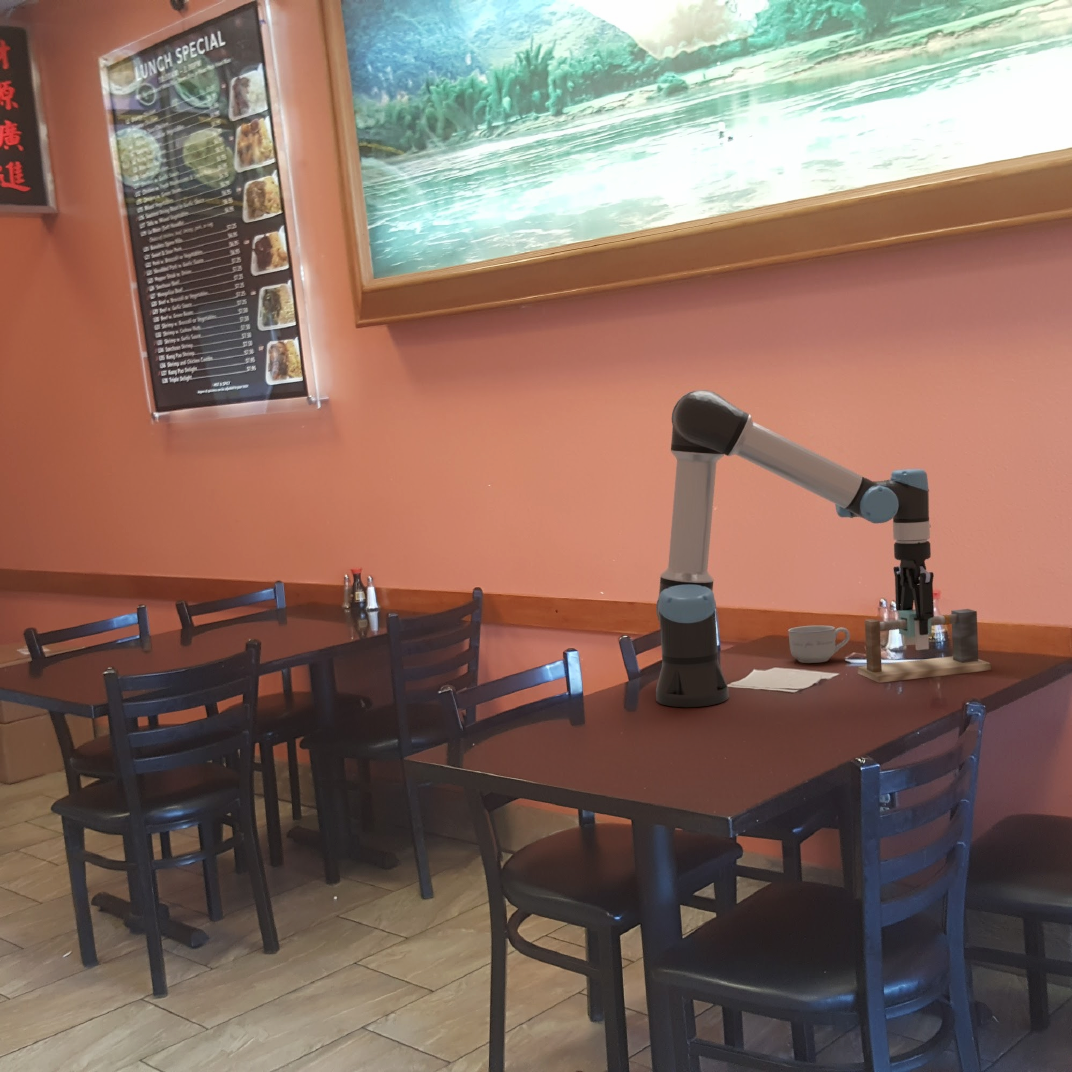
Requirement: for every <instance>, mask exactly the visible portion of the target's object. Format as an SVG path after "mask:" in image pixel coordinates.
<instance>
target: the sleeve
mask: <svg viewBox="0 0 1072 1072" xmlns="http://www.w3.org/2000/svg"><path fill="white" fill-rule="evenodd" d="M897 614H898V620H904V619H907V628H906V629H898V634H900V635H902V636H903V635H905V636H908V637H915V620H914V618H917V617H916V610H915V608H913V610H903V611H897ZM932 633H933V632H932V626H931V618H930V619H928V636H932Z"/></svg>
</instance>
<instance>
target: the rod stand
mask: <svg viewBox="0 0 1072 1072" xmlns="http://www.w3.org/2000/svg"><path fill="white" fill-rule="evenodd" d="M950 613H951V614H942V615H934V617H933V618H931V627H932V626H947V625H951V637H952V639H951V640H952V641H951V642H952V643H951V644H952V656H944V657H943V656H942V657H934V658H926V659H915V660H908V661H899V662H890V663H882V647H881V646H882V645H881V644H882V643H881V632H886V631H895V630H899V629H906V628H907V619H904V620H899V619H895V620H887V621H880V620H877V619H874V618H872V619H871V618H869V619H865V620H864V632H865V633H864V634H865V636H864V637H865V653H866V654H865V658H866V665H862V666H861V665H860V666H857V674H858V675H860V676H863V677H865V678H866V679H869V680H871V681H874V682H876V683H889V682H896V681H897V682H898V681H906V680H914V679H915V680H916V679H922V678H923V679H924V678H925V679H926V678H932V677H942V676H951V675H960V674H968V673H977V672H984V671H986V672H987V671H991V670H992V668H991V667H992V666H991V665H992V664H991V662H988V661H985V660H983V659H980V658H979V643H978V642H979V639H978V637H979V636H978V612H977V610H974V609H970V608H966V609H965V608H964V609H956V610H955V609H954V610H951V612H950Z"/></svg>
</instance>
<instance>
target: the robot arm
mask: <svg viewBox="0 0 1072 1072" xmlns="http://www.w3.org/2000/svg"><path fill="white" fill-rule="evenodd" d="M671 424H672V425H671V426H672V429H671V443H670V452H671V454H672V455H673V456H674V458H676V467H675V481H674V491H673V502H672V503H673V505H672V507H673V508H672V516H671V517H672V518H671V529H670V530H671V531H670V538H669V539H670V540H669V554H668V563H667V564H668V565H667V566H668V567H667V569H666V570H664V571H663V572H662V573H661V574H660V577H659V578H660V580H659V590H658V598H657V601H656V608H655V610H656V611H655V612H656V617H657V618H658V621H659V627H660V629H659V630H660V644H661V659H662V660H661V662H662V664H661V669H660V672H659V677H658V680H657V684H656V688H655V699H656V702H657V703H658V704H660V705H664V706H668V707H675V708H697V707H698V708H699V707H708V706H714V705H718V704H721V703H724V702H726V701H728V699H729V697H730V696H729V686H728V683H727V680H726V678H725V676H724V674H723V673H724V672H723V671H722V669H721V666H720V663H719V655H718V639H717V638H718V634H717V619H716V617H717V615H716V607H717V604H716V603H717V602H716V600H715V594H714V591H713V590H714V581H715V580H714V578H713V577H712V576H711V574H710V573H709V571H708V567H709V566H708V565H709V554H710V544H711V543H710V542H711V532H712V519H713V518H712V517H713V511H714V510H713V509H714V508H713V506H714V497H715V495H714V494H715V484H716V474H717V464H718V462H719V461H720V460H721V459H722V458H723V457H724V456H727V457H731V456H734V455H736V456H738V457H740V458H742V459H744V460H747V461H748V462H750V463H752V464H754V465H756V466H758V467H760V468H762V469H764V470H766V471H769V472H770V473H773V474H774V475H776V476H778V477H780V478H782V479H785V480H787V481H789V482H790V483H792V484H795V485H796V486H798V487H800V488H803V489H805V490H806V491H809V492H810V493H812V494H814V495H817V496H819V497H820V498H823V499H825V500H827V501H829V502H831V503H833V504H835V510H836V514H837V515H838V517H840V518H850V519H853V518H862V519H864V520H866V521H867V522H870V523H872V524H884V523H888V522H889V521H891V520H892V533H893V534H892V535H893V540H895V542H894V544H893V552H894V559H895V560H897V561H900V564H899V565H898V566H893V574H894V590H895V591H894V593H895V594H894V595H895V610H896V611H897V612H898V611H903V610H913V609H915V610H916V617H917V618H914V620H915V637H908V636H905V635H902V645H903V646H911V645H915V650H916V651H921V650H929V649H930V643H929V642H930V641H929V639H930V638H929V635H928V619H930V618H933V617H934V616H935V611H934V609H935V607H934V589H933V588H934V586H933V584H934V583H933V581H934V572H933V571H931V572H929V571H928V570H927V567H926V562H925V561H926V560H929V559H930V558H931V554H932V553H931V552H932V551H931V542H930V541H929V539H930V538H931V536H930V535H931V532H930V531H931V530H930V528H931V524H930V508H929V507H930V502H929V501H930V499H929V492H930V489H929V481H928V479H929V478H928V474H927V471H925V470H924V469H919V468H910V469H907V468H906V469H896V470H893V471H891V473H890V475H891V476H890V479H885V480H877V481H876V480H875V481H874V480H871V479H869V478H867V477H864V476H862V475H861V474H860V473H857V472H855V471H853V470H851V469H849V468H846V467H845V466H843V465H841V464H839V463H838V462H835V461H833V460H832V459H829V458H827V457H825V456H823V455H821V454H819V453H816V452H815V451H813V450H811V449H809V448H806V447H805V446H803V445H801V444H799V443H797V442H794V441H793V440H791V439H788V438H787V437H785V436H783V435H782V434H781V435H780V434H779V433H777V432H775V431H773V430H771V429H768V428H766V427H765V426H763V425H761V424H758V423H757V422H755V421H753V419H752V416H751V414H750V413H747V412H745V411H744V410H742V409H740V408H739V407H737V406H735V405H734V404H733V403H730V402H729V401H728V400H726V399H725V398H724V397H722V396H721V395H720V394H719V393H716V392H714V391H711V390H705V389H704V390H693V391H690V392H688V393H686V394H684V395H683V396H682V397H680V399H678V400H677V401H676V403H675V405H674V407H673V410H672V413H671Z"/></svg>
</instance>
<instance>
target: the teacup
mask: <svg viewBox="0 0 1072 1072" xmlns="http://www.w3.org/2000/svg"><path fill="white" fill-rule="evenodd" d="M787 632H788V639H789V640H788V641H789V650H790V654H791V656H792V657H794V659H796V660H797V661H798V662H799V663H804V664H811V663H812V664H813V663H814V664H816V663H817V664H818V663H825V662H828V661H829V660H830V658H831V657H833V655H834V654H835V653H837V652H838V651H839V650H840V649H841V648H842V647H845V645H847V644H848V642H849V641H850V637H851V634H850V631H849V630H848V629H847V628H846V627H838V628H836V627H835V626H831V625H806V626H805V625H803V626H797V627H792V628H788V630H787ZM841 632H843V633H844V634H845V636H844V637H845V638H844V639H843V640H842V641H841V642H840V643H838V644H836V639H837V637H838V634H839V633H841Z"/></svg>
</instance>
